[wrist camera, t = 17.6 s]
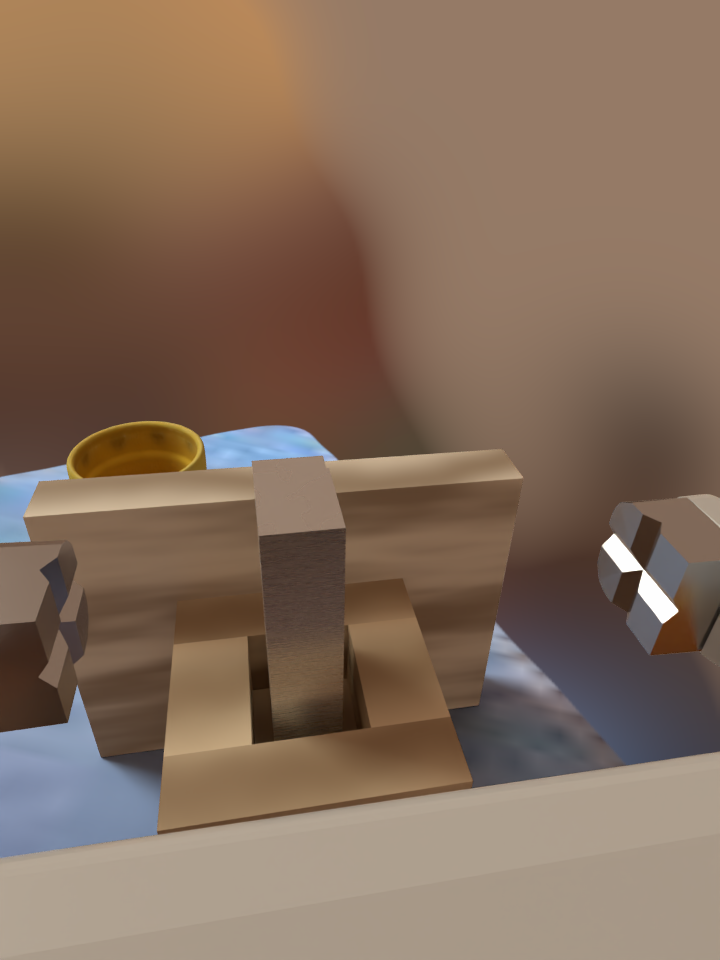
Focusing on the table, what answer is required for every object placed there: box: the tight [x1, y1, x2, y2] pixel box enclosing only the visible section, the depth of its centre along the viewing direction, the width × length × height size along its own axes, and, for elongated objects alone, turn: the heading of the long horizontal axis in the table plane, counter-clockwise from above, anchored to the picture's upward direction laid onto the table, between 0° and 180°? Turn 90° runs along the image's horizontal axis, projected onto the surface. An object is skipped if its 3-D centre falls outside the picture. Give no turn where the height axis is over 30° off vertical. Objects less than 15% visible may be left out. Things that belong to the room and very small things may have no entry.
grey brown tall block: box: [252, 456, 346, 741], centre depth 28 cm, size 6×3×14 cm, turn 11°
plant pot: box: [67, 421, 207, 479], centre depth 53 cm, size 10×10×10 cm
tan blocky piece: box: [23, 449, 523, 835], centre depth 32 cm, size 15×24×18 cm, turn 100°
